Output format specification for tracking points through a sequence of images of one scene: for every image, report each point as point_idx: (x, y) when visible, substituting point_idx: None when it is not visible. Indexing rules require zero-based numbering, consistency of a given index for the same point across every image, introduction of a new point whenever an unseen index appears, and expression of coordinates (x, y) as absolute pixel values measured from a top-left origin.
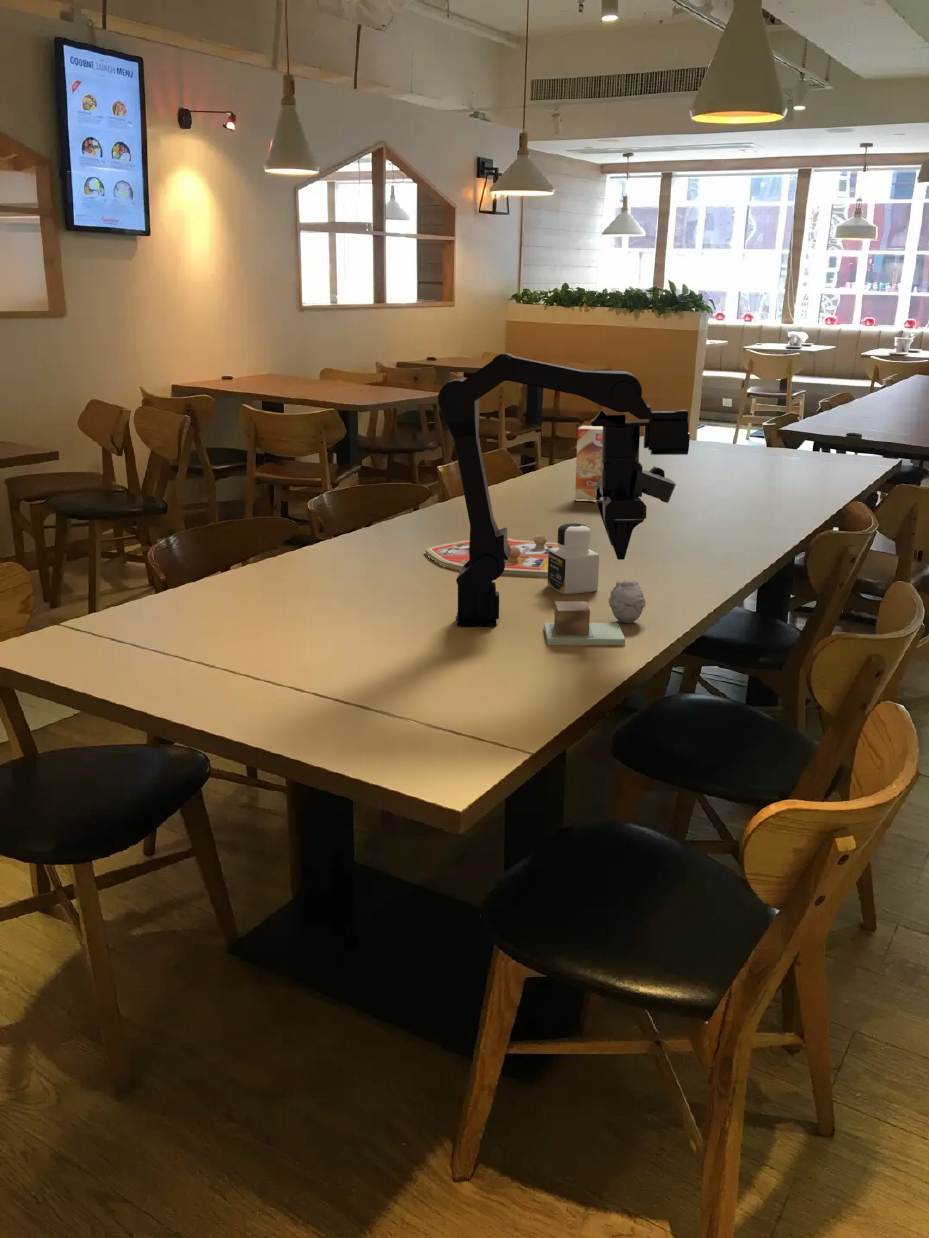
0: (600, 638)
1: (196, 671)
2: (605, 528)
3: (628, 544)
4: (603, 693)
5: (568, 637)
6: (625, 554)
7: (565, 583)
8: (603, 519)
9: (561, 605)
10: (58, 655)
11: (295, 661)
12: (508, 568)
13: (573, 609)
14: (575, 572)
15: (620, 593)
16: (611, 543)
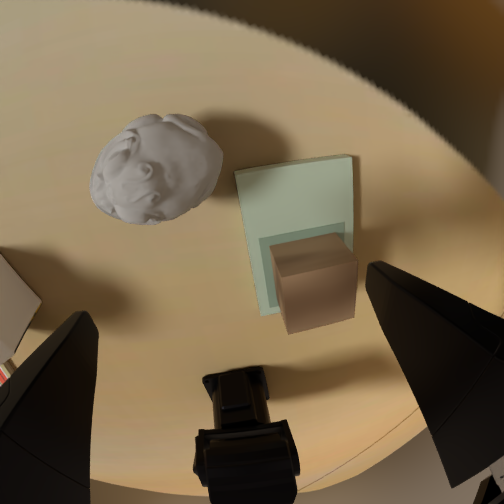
0: (349, 208)
1: (375, 446)
2: (91, 421)
3: (447, 292)
4: (498, 198)
5: None
6: (399, 269)
7: (32, 313)
8: (87, 467)
9: (318, 319)
10: (340, 478)
11: (368, 431)
12: (5, 375)
13: (347, 293)
14: (9, 312)
15: (192, 196)
16: (96, 341)
